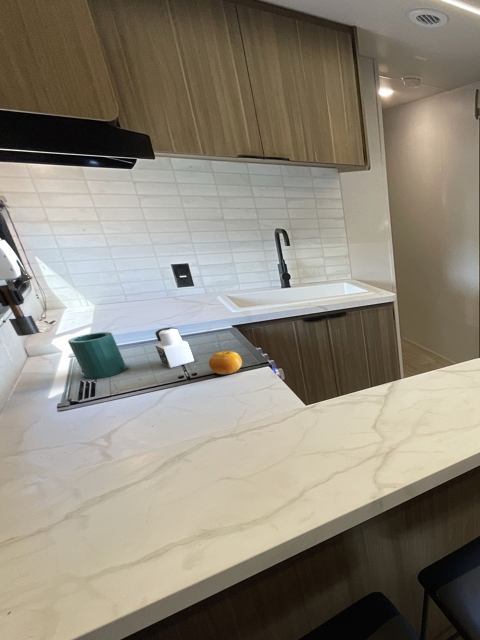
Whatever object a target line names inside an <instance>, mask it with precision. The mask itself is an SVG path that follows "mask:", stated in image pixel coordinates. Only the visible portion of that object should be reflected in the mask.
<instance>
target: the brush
mask: <svg viewBox="0 0 480 640" xmlns="http://www.w3.org/2000/svg"><path fill="white" fill-rule="evenodd" d="M0 290H1V292H2V294H3V296H4V297H5V299H6V301H7V303H8V307H9V309H10V310H11V313H12V314H13V316H10V317H8V321H9V323H10V324H11V326H12V328H13V330H14V331H15V334H16V335H17V336H18V337H24V336H31V335H36V334H38V333H40V329H39V327H38V325H37V323H36V321H35V320H34V317H33V316H32V314H24V312H23V309H22V308H21V306H20V305H15V304H14V302H13V300H12V298H11V297H10V295H9V293H8V292H9V291H10V290H9V287H8V285H7V283H5V284H0Z"/></svg>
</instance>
